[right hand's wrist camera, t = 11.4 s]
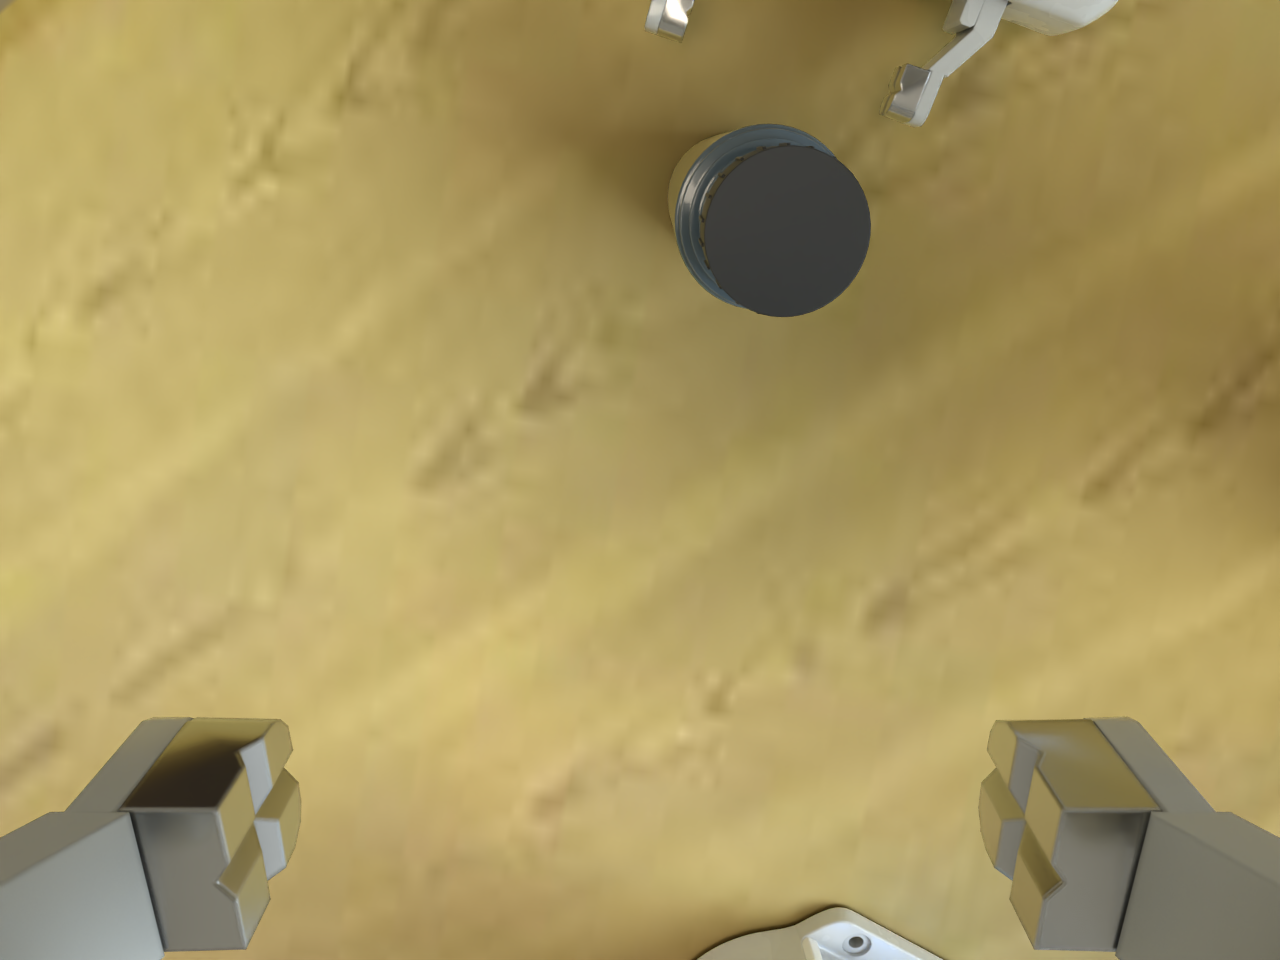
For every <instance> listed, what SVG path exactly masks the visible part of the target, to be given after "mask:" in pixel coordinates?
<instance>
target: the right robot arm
mask: <svg viewBox="0 0 1280 960" xmlns="http://www.w3.org/2000/svg"><path fill="white" fill-rule="evenodd" d="M292 751H293V747H292V742H291V737H290V732H289V728H288V725H286V724H285V723H284V722H283V721H282V720H281V719H247V718H201V717H197V718H191V717H153V718H150V719H148V720H145V721H142V722H141V723H140V724H139V725H138V726H137V728H136V729H135V730H134V731H133V732H132V733H131V735H130V736H129V737H128V738H127V739H126V740H125V742H124V743H123V744H122V745H121V746H120V747H119V749H118V750H117V751H116V752H115V753H114V754H113V756H112V757H111V758H110V759H109V760H108V761H107V763H106V764H105V765H104V766H103V767H102V768H101V770H100V771H99V772H98V773H97V774H96V775H95V777H94V778H93V779H92V780H91V781H90V782H89V784H88V785H87V786H86V787H85V788H84V789H83V791H82V792H81V793H80V794H79V795H78V796H77V798H76V799H75V800H74V801H73V802H72V803H71V805H70V806H69V807H68V808H67V809H66V810H65V811H64V812H49V813H47V814H45V815H43V816H41V817H39V818H37V819H36V820H34V821H32V822H30V823H28V824H26V825H24V826H22V827H20V828H18V829H16V830H14V831H12V832H11V833H9V834H7V835H5V836H3V837H1V838H0V960H161V959H162V958H163V957H164V952H172V951H206V950H240V949H246V948H247V946H248V944H249V942H250V940H251V938H252V936H253V934H254V932H255V930H256V928H257V926H258V924H259V922H260V920H261V918H262V916H263V914H264V912H265V910H266V907H267V905H268V903H269V901H270V893H269V887H268V882H267V881H268V880H269V879H271V878H272V877H273V876H275V875H276V874H278V873H279V872H280V871H282V870H283V869H284V868H286V866H287V864H288V862H289V860H290V857H291V855H292V853H293V851H294V849H295V846H296V841H297V836H298V832H299V827H300V823H301V796H300V790H299V783H298V781H297V780H296V779H295V778H294V777H293V776H292V775H291V774H290V773H289V772H288V771H287V770H286V769H285V768H284V766H285V764H286V762H287V760H288V759H289V757H290V755H291V753H292ZM987 751H988V753H989V755H990V757H991V759H992V760H993V762H994V764H995V766H996V768H995V769H994V770H993V771H992V772H991V773H990V774H989V775H988V776H987V777H986V778H985V779H984V780H983V781H982V783H981V791H980V799H979V818H980V829H981V834H982V838H983V841H984V845H985V848H986V851H987V853H988V855H989V857H990V860H991V862H992V864H993V866H994V868H996V869H997V870H998V871H1000V872H1001V873H1002V874H1004V875H1005V876H1007V877H1008V878H1009V879H1011V880H1012V881H1013V882H1012V887H1011V893H1010V901H1011V903H1012V905H1013V907H1014V909H1015V912H1016V914H1017V916H1018V918H1019V920H1020V922H1021V924H1022V926H1023V928H1024V930H1025V932H1026V934H1027V936H1028V938H1029V940H1030V942H1031V944H1032V946H1033V948H1034V949H1038V950H1073V951H1108V952H1116V954H1115V956H1116V957H1117V958H1119V959H1120V960H1280V838H1279V837H1277V836H1275V835H1273V834H1271V833H1269V832H1267V831H1266V830H1264V829H1262V828H1260V827H1258V826H1256V825H1254V824H1252V823H1250V822H1248V821H1246V820H1244V819H1243V818H1241V817H1239V816H1237V815H1235V814H1233V813H1231V812H1215V810H1214V809H1213V808H1212V807H1211V806H1210V805H1209V803H1208V802H1207V801H1206V800H1205V799H1204V798H1203V796H1202V795H1201V794H1200V793H1199V792H1198V791H1197V789H1196V788H1195V787H1194V786H1193V785H1192V784H1191V782H1190V781H1189V780H1188V779H1187V778H1186V777H1185V775H1184V774H1183V773H1182V772H1181V771H1180V770H1179V768H1178V767H1177V766H1176V765H1175V764H1174V763H1173V761H1172V760H1171V759H1170V758H1169V757H1168V756H1167V754H1166V753H1165V752H1164V751H1163V750H1162V749H1161V747H1160V746H1159V745H1158V744H1157V743H1156V742H1155V741H1154V739H1153V738H1152V737H1151V736H1150V735H1149V734H1148V732H1147V731H1146V730H1145V729H1144V728H1143V727H1142V725H1141V724H1140V723H1139V722H1137V721H1136V720H1133V719H1131V718H1129V717H1102V718H1084V719H1063V720H996V721H995V723H994V725H993V727H992V729H991V731H990V735H989V741H988V747H987ZM852 937H855V938H852ZM697 960H943V959H941V958H939V957H938V956H936V955H934V954H932V953H930V952H928V951H926V950H925V949H923V948H921V947H919V946H917V945H915V944H913V943H912V942H910V941H908V940H906V939H904V938H902V937H900V936H899V935H897V934H895V933H893V932H891V931H889V930H887V929H886V928H884V927H882V926H880V925H878V924H876V923H874V922H873V921H871V920H869V919H867V918H865V917H863V916H861V915H860V914H858V913H856V912H854V911H852V910H850V909H847V908H842V907H836V908H831V909H827V910H825V911H822V912H820V913H818V914H815V915H813V916H811V917H810V918H808V919H806V920H804V921H802V922H800V923H798V924H796V925H794V926H790V927H787V928H782V929H776V930H770V931H764V932H758V933H753V934H749V935H745V936H742V937H739V938H736V939H733V940H730V941H728V942H725V943H723V944H721V945H719V946H717V947H715V948H713V949H712V950H710V951H708V952H707V953H705V954H704V955H702V956H701V957H700V958H698V959H697Z"/></svg>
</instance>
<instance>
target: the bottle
mask: <svg viewBox="0 0 1280 960" xmlns="http://www.w3.org/2000/svg"><path fill="white" fill-rule="evenodd" d="M779 143H791V145H797V146H814V147H815V148H814V149H817V150H820V151H822V152H825V153H827V154H829V155H830V156H834V154H833V153H832V152H831V151H830V150H829V149H828V148H827V147H826V146H825V145H824V144H823V143H821V142H820V141H819V140H817V139H816V138H815V137H813V136H811V135H809V134H808V133H806V132H804V131H801V130H799V129H796V128H794V127H789V126H785V125H779V124H757V125H752V126H747V127H743V128H740V129H736V130H733V131H729V132H726V133H722V134H719V135H715V136H712V137H709V138H706V139H704V140H702V141H700V142H699V143H697V144H696V145H694V146H693V147H692V148H690V149H689V150H688V151H687V152H686V153H685V154H684V155H683V157H682V158H681V159H680V161H679V162H678V164H677V165H676V167H675V169H674V171H673V173H672V176H671V179H670V182H669V187H668V196H667V198H668V209H669V214H670V218H671V222H672V226H673V230H674V233H675V237H676V241H677V245H678V248H679V251H680V254H681V257H682V259H683V261H684V263H685V265H686V267H687V268H688V270H689V272H690V273H691V275H692V276H693V277H694V278H695V280H696V281H697V282H698V283H699V284H700V285H701V286H702V287H703V288H704V289H705V290H706V291H707V292H709V293H710V294H712V295H713V296H714V297H716V298H718V299H720V300H722V301H723V302H725V303H728V304H731V305H733V306H736V307H741V308H745V307H743V306H742V305H740V304H739V305H738V304H736V302H735V300H733V299H732V298H731V297H730V296H729V295H728V294H727V293H726V292H725V291H724V290H723V289H720V288H719V287H718V285H717V282H716V279H715V277H714V275H713V273H712V271H711V269H710V270H708V269H707V267H706V264H705V262H704V260H706V258H705V256H704V252H703V249H702V247H701V245H700V243H699V240H698V238H700V220H699V215H701V214H702V210H703V205H704V203H705V200H706V196H705V194H706V193H709V191H710V189H711V187H712V185H713V184H714V182H715V181H716V180H717V178H718V177H719V176H718V173H719V172H720V173H722V172H723V171H724V170H725V169H726V168H727V167H728V166H729V165H731V164H732V163H733V162H734V161H736V160H735V158H736V157H742V156H744V155H746V154H748V153H750V152H752V151H755V150H756V147H760V146H766V147H771V146H779ZM834 157H835V156H834ZM836 159H837V158H836ZM745 309H747V308H745Z"/></svg>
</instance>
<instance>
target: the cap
mask: <svg viewBox="0 0 1280 960" xmlns="http://www.w3.org/2000/svg"><path fill="white" fill-rule="evenodd" d="M814 148H815V147H814V146H797V145H791V143H779V146H771V147H766V146H760V147H756V150H755V151H752V152H750V153H748V154H746V155H744V156H742V157H736V158H735V160H736V161H734V162H733V163H732V164H731V165H729V166H728V167H727V168H726V169H725V170H724V171H723V172H722V173H720V172H719V173H718V176H719V177H718V178H717V180H716V181H715V182H714V184H713V185H712V187H711V189H710V191H709V193H706V194H705V196H706V200H705V203H704V205H703V210H702V214H701V215H699V220H700V238H698V240H699V243H700V245H701V247H702V249H703V252H704V256H705V258H706V260H704V262H705V264H706V267H707V269H708V270H710V269H711V271H712V273H713V275H714V277H715V279H716V282H717V285H718V287H719V288H720V289H723V290H724V291H725V292H726V293H727V294H728V295H729V296H730V297H731V298H732V299H733V300H735V302H736V304H738V305H739V304H740V305H742V306H743V307H745V308H747V309H749V310H751V311H754V312H756V313H758V314H763V315H768V316H774V317H793V316H798V315H803V314H806V313H810V312H813V311H815V310H817V309H819V308H821V307H823V306H825V305H827V304H828V303H830V302H831V301H833V300H834V299H835V298H837V297H838V296H839V295H840V294H841V293H842V292H843V291H844V290H845V289H846V288H847V287H848V286H849V285H850V284H851V282H852V281H853V280H854V278H855V277H856V275H857V273H858V272H859V270H860V268H861V266H862V264H863V262H864V259H865V257H866V253H867V250H868V247H869V241H870V231H871V221H870V212H869V208H868V203H867V200H866V197H865V195H864V192H863V190H862V188H861V186H860V184H859V182H858V181H857V180H856V178H855V177H854V175H853V174H852V173H851V172H850V171H849V170H848V169H847V168H846V167H845V166H844V165H843V164H842V163H841V162H839V161H838V160H837V159H836V157H834V156H830V155H829V154H827V153H825V152H822V151H820V150H817V149H814Z"/></svg>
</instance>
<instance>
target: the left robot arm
mask: <svg viewBox="0 0 1280 960" xmlns="http://www.w3.org/2000/svg"><path fill="white" fill-rule="evenodd" d="M694 1H695V0H652V1H651V4H650V8H649V11H648V15H647V19H646V23H645V31H647V32H650V33H652V34H655V35H657V34H658V36H661V37H664V38H667V39H670V40H673V41H676V42H679V43H682V40H683V37H684V34H685V31H686V27H687V24H688V16H689V15H690V14H691V11H692V8H693V4H694ZM1117 2H1118V0H953V1H952V3H951V6H950V9H949V11H948V14H947V17H946V19H945V22H944V25H943V27H942V28H943V31H944V32H947V33H949V34H955V33H956V35H955V37H954V38H953V39H952V40H951V41H950V42H949V43H948V44H947V45H946V46H944V47H943V48H942V49H941V50H940V51H939V52H938V53H937V54H936V55H935V56H934V57H932V58H931V59H930V60H929V61H928V62H927V63H926V64H925V65H924V66H923V67H922V68H919V67H916V66H913V65H910V64H904V65H902V67H901V66H899V67H896V68H895V70H894V72H893V75H892V77H891V80H890V83H889V85H888V86H889V91H890V93H889V94H888V95H887V96H885V97H884V98H883V101H882V103H881V106H880V110H879V115H882V116H885V117H887V118H890V119H893V120H895V121H898V122H900V123H903V124H906V125H909V126H912V127H920V126H922V125H923V123H924V122H925V120H926V118H927V117H928V115H929V112H930V110H931V107H932V105H933V102H934V100H935V97H936V95H937V93H938V90H939V88H940V85H941V83H942V80H943V78H946V77H948V76H949V75H950V74H951V73H953V72H954V71H955V70H956V69H957V68H958V67H959V66H961V65H962V64H963V63H964V62H965V61H966V60H967V59H969V58H970V57H971V56H972V55H973V54H974V53H975V52H977V51H978V50H979V49H980V48H981V47H982V46H983V45H985V44H986V43H987V42H988V41H989V40H990V39H991V38H993V36H994V34H995V31H996V29H997V27H998V24H999V22H1000V19H1001V18H1002V19H1004V20H1007V21H1010V22H1012V23H1015V24H1018V25H1020V26H1023V27H1026V28H1028V29H1031V30H1034V31H1036V32H1039V33H1042V34H1045V35H1050V36H1053V35H1059V34H1063V33H1067V32H1071V31H1073V30H1076V29H1079V28H1082V27H1084V26H1086V25H1088V24H1090V23H1092V22H1093V21H1095V20H1097V19H1098V18H1100V17H1101V16H1102V15H1104V14H1105V13H1107V12H1108V11H1109V10H1110V9H1111V8H1112V7H1113V6H1114V5H1115V4H1116V3H1117Z"/></svg>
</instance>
